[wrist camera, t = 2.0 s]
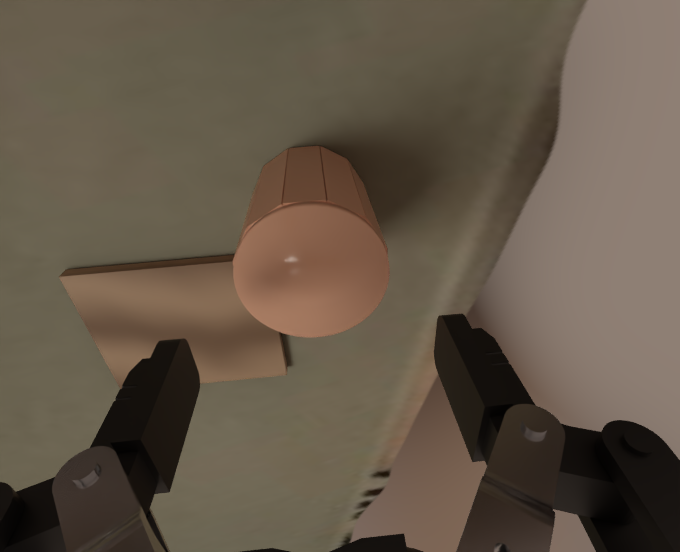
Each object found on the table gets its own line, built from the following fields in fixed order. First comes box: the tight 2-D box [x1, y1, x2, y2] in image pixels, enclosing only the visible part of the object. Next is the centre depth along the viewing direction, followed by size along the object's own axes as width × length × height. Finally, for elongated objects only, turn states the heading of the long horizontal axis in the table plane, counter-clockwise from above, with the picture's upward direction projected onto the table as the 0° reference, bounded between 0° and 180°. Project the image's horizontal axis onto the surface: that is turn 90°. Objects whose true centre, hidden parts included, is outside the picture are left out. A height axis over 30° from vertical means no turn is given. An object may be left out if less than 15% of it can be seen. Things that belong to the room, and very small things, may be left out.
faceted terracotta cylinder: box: [233, 146, 389, 337], centre depth 19 cm, size 6×6×8 cm
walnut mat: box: [59, 255, 287, 389], centre depth 26 cm, size 10×12×1 cm
